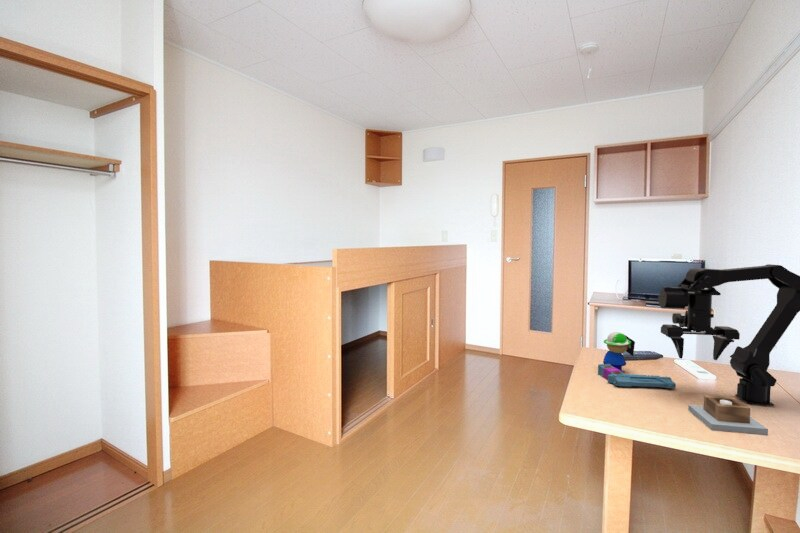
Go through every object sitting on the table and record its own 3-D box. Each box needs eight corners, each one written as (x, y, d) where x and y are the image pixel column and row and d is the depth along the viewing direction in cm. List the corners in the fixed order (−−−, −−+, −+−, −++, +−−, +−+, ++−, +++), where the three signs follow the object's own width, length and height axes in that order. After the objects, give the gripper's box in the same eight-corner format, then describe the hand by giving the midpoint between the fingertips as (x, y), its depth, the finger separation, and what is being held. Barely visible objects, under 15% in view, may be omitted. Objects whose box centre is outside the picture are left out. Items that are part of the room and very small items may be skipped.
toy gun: (654, 376, 137) (678, 393, 122) (596, 374, 140) (612, 390, 125) (655, 365, 137) (678, 380, 122) (596, 363, 140) (613, 378, 125)
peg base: (737, 413, 106) (738, 394, 106) (767, 434, 94) (768, 413, 94) (688, 409, 109) (688, 391, 108) (711, 429, 97) (712, 409, 97)
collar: (732, 411, 104) (733, 397, 104) (749, 423, 97) (750, 408, 97) (703, 409, 106) (703, 395, 105) (718, 420, 99) (718, 405, 99)
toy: (636, 375, 137) (637, 334, 136) (610, 375, 137) (611, 335, 136) (621, 367, 146) (622, 329, 145) (597, 367, 146) (598, 329, 145)
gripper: (719, 305, 122) (717, 353, 123) (654, 304, 126) (652, 350, 127) (741, 311, 111) (739, 364, 112) (669, 310, 115) (667, 360, 116)
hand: (697, 359), depth 117 cm, fingers open, 9 cm apart
